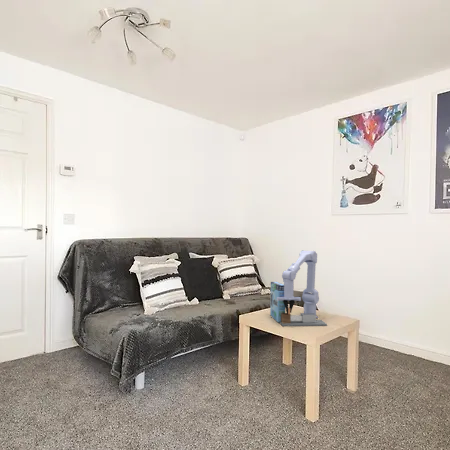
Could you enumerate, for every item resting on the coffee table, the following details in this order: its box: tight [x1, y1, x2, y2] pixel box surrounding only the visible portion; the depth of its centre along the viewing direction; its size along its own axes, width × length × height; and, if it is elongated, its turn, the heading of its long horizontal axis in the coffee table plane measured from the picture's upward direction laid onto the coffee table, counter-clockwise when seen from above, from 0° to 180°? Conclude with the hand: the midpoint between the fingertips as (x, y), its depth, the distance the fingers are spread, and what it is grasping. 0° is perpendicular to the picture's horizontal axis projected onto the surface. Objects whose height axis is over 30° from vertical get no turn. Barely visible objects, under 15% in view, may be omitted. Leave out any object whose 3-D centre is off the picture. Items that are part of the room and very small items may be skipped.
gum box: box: [269, 281, 286, 324], centre depth 214 cm, size 20×5×23 cm, turn 6°
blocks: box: [286, 307, 302, 321], centre depth 202 cm, size 3×14×8 cm, turn 93°
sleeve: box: [299, 312, 317, 323], centre depth 202 cm, size 5×8×5 cm, turn 93°
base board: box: [279, 319, 328, 327], centre depth 202 cm, size 10×27×1 cm, turn 93°
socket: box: [281, 312, 291, 323], centre depth 202 cm, size 5×5×5 cm
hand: (288, 312), depth 202 cm, fingers closed on blocks
